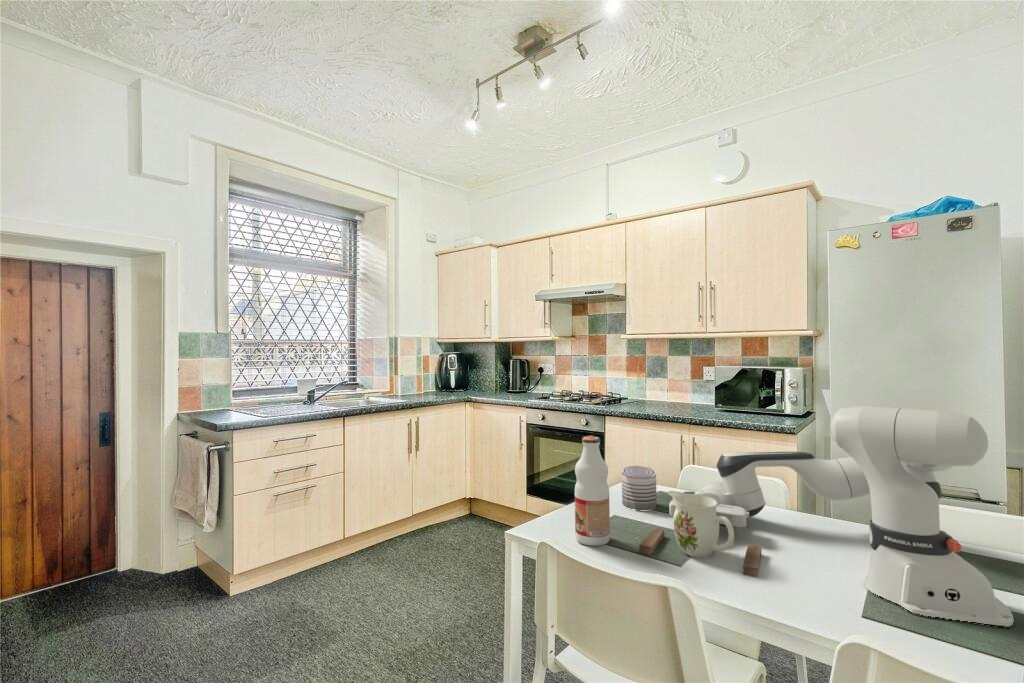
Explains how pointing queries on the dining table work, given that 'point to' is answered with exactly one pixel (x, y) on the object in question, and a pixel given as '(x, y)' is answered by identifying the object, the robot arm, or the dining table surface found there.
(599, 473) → the fruit juice
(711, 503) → the pitcher
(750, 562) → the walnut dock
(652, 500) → the can
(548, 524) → the dining table surface
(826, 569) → the dining table surface
